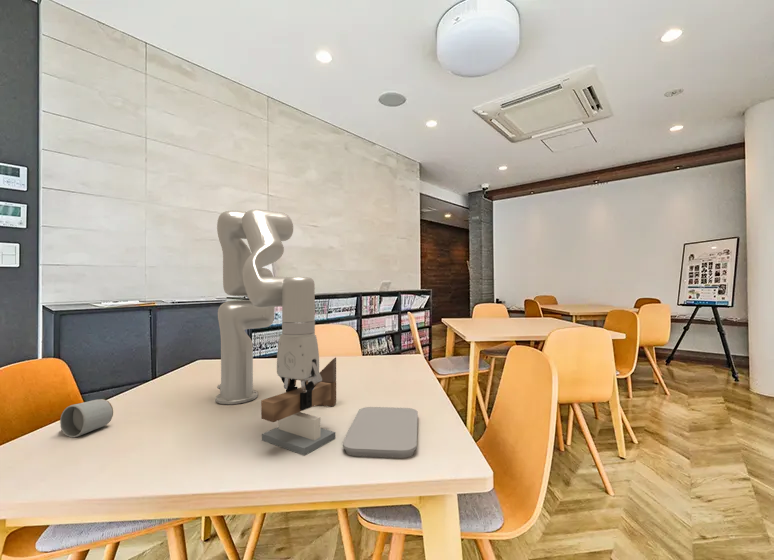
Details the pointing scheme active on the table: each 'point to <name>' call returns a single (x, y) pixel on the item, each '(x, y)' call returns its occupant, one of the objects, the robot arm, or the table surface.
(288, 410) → the walnut bar
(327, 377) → the brown wooden block stack
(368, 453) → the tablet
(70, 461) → the table surface
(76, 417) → the grey hollow cylinder
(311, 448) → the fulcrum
